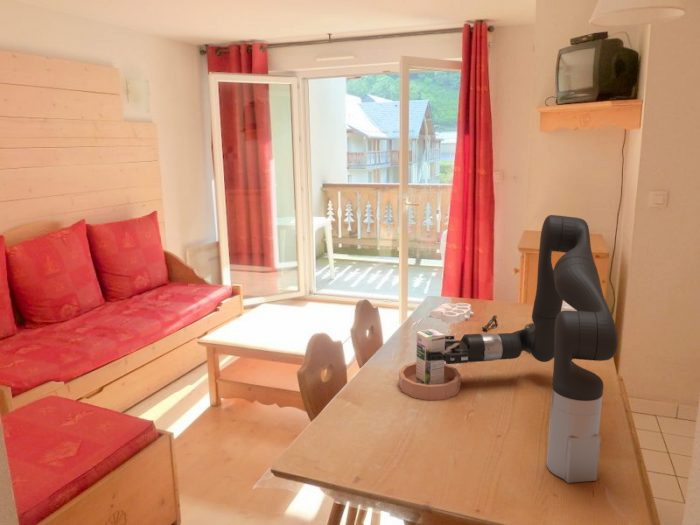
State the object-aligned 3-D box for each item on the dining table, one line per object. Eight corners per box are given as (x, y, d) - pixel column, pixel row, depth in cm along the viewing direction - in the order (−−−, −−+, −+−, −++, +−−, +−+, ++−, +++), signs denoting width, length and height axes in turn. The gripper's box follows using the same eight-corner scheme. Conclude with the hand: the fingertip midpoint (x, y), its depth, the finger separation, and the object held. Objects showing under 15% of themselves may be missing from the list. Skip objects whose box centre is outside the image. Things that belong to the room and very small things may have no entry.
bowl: (467, 397, 142) (467, 384, 141) (406, 401, 140) (406, 388, 139) (449, 372, 157) (450, 360, 156) (395, 375, 156) (395, 363, 155)
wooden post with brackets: (500, 324, 196) (498, 314, 193) (488, 337, 191) (486, 327, 189) (496, 322, 197) (493, 313, 195) (484, 336, 193) (481, 326, 191)
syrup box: (415, 381, 150) (415, 331, 147) (432, 377, 153) (433, 327, 149) (427, 389, 145) (427, 337, 142) (445, 384, 148) (445, 334, 144)
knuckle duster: (444, 307, 219) (479, 313, 212) (425, 320, 204) (463, 326, 197) (444, 299, 219) (480, 305, 211) (426, 311, 204) (463, 317, 196)
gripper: (473, 325, 154) (417, 328, 152) (491, 343, 140) (429, 347, 139) (472, 350, 156) (416, 353, 154) (490, 371, 142) (429, 374, 140)
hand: (423, 350), depth 146 cm, fingers open, 8 cm apart
